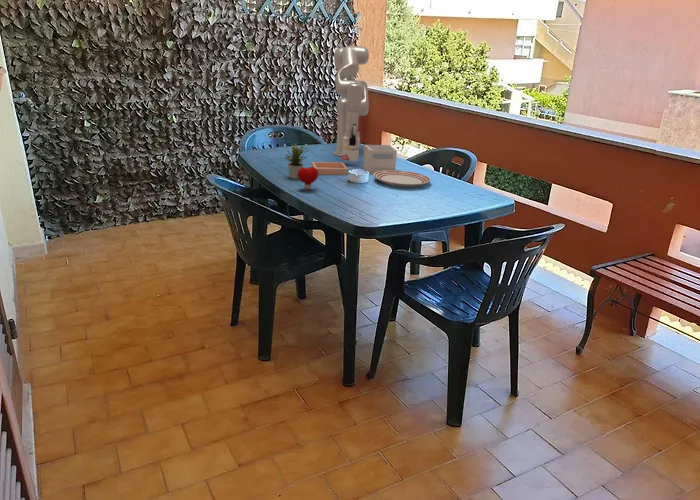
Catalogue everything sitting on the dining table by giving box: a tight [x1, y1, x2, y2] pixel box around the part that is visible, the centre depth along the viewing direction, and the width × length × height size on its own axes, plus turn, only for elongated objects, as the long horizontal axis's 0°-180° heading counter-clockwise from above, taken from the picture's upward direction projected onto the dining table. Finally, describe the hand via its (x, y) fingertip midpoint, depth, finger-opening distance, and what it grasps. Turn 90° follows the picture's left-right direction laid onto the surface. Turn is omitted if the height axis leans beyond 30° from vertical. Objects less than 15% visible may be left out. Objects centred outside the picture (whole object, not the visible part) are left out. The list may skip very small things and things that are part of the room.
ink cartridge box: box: [341, 130, 361, 162], centre depth 278 cm, size 9×5×15 cm, turn 84°
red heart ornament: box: [298, 166, 319, 191], centre depth 234 cm, size 9×7×10 cm
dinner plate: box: [372, 169, 431, 188], centre depth 257 cm, size 28×27×3 cm
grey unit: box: [362, 144, 398, 175], centre depth 273 cm, size 13×14×12 cm
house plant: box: [281, 142, 311, 180], centre depth 251 cm, size 14×14×16 cm
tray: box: [311, 161, 349, 176], centre depth 267 cm, size 13×16×3 cm
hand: (351, 143), depth 278 cm, fingers closed on ink cartridge box, 6 cm apart
